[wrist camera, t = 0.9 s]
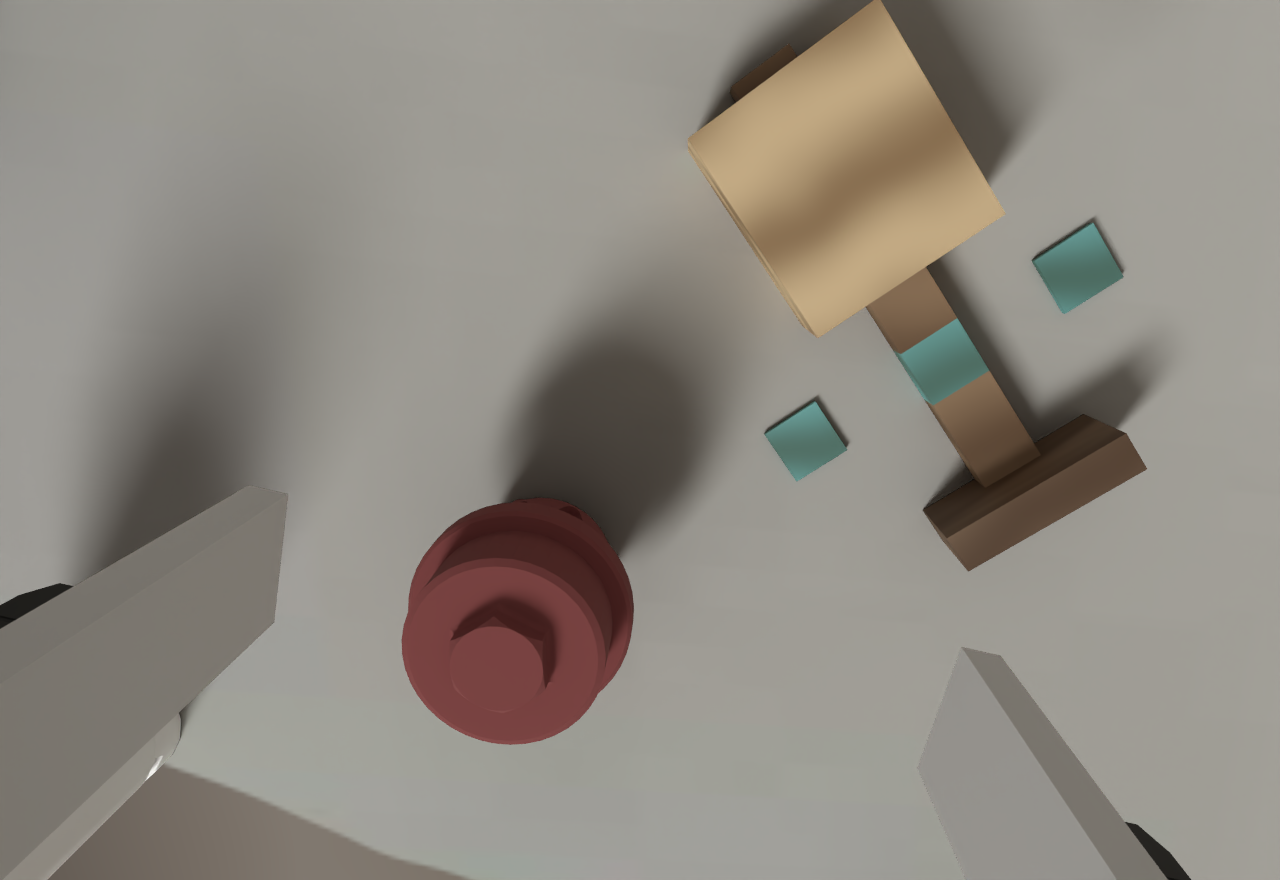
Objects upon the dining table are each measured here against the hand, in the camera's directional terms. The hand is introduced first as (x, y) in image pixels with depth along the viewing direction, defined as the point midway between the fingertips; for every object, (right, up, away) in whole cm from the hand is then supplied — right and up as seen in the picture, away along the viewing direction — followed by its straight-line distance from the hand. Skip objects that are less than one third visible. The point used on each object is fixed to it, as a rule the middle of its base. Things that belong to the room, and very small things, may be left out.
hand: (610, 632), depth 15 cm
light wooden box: (+9, +16, +22) cm, 29 cm away
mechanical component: (-4, -2, +28) cm, 28 cm away
